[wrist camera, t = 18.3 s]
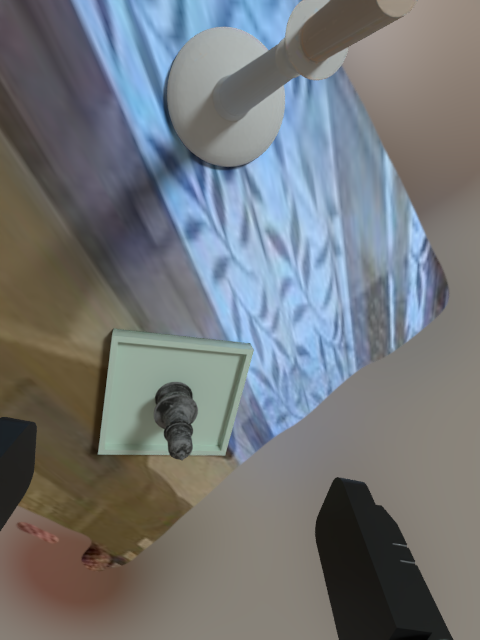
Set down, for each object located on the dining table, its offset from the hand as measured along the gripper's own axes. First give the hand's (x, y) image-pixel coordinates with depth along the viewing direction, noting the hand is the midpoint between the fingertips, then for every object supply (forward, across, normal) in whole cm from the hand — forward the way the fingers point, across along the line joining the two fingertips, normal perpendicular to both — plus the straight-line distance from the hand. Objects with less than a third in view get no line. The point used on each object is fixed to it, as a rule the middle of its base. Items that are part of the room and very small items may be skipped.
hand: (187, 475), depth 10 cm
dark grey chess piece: (+37, -2, -22) cm, 43 cm away
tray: (+37, -2, -22) cm, 44 cm away
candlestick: (+37, -3, +15) cm, 40 cm away
